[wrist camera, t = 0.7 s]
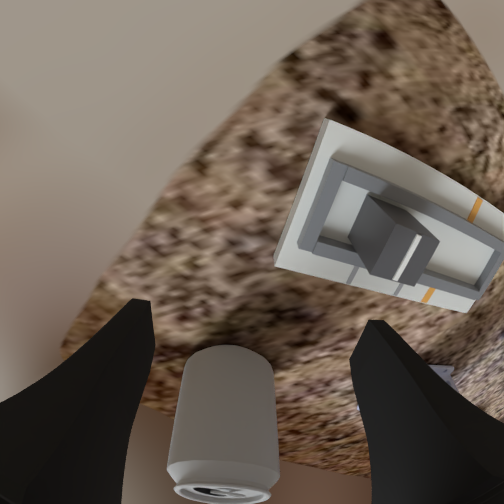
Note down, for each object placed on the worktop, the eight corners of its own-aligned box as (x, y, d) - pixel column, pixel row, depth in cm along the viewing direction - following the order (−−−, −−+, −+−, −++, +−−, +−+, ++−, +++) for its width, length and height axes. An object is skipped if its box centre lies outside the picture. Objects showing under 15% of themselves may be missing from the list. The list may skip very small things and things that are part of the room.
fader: (406, 210, 16) (441, 242, 13) (387, 249, 17) (415, 287, 14) (366, 194, 16) (396, 224, 12) (347, 236, 17) (370, 275, 13)
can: (168, 361, 24) (141, 488, 14) (231, 323, 22) (221, 479, 11) (227, 399, 27) (222, 511, 17) (290, 369, 25) (303, 498, 14)
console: (509, 217, 17) (525, 229, 15) (460, 305, 22) (471, 320, 20) (324, 118, 15) (334, 121, 13) (273, 255, 19) (275, 275, 17)
